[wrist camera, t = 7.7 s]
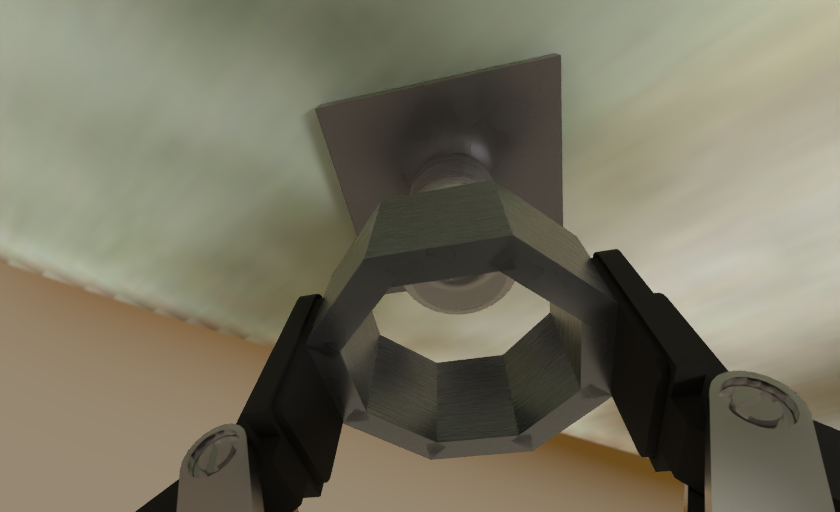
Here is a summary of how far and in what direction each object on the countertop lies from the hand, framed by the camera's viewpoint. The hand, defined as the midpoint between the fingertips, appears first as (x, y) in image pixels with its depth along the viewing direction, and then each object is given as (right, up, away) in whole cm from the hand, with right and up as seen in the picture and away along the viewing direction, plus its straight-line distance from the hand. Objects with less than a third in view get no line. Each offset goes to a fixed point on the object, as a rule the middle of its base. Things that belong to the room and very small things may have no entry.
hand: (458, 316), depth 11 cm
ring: (0, 0, +1) cm, 1 cm away
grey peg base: (0, +5, +8) cm, 9 cm away
